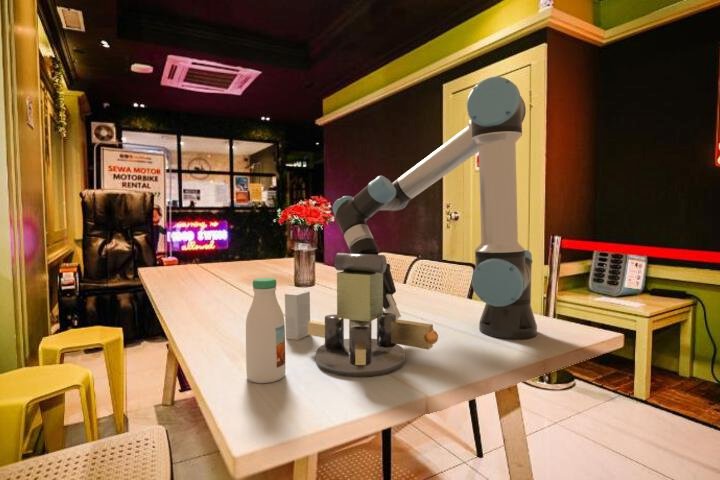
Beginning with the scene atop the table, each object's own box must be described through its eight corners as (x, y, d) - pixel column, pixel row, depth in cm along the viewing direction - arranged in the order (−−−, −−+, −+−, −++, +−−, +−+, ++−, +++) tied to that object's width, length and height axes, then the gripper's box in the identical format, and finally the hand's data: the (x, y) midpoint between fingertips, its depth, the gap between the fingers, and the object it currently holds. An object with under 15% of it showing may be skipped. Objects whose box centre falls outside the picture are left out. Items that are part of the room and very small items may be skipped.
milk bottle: (266, 387, 81) (264, 283, 79) (238, 379, 85) (236, 280, 83) (293, 374, 87) (292, 278, 86) (266, 367, 91) (264, 275, 90)
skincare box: (297, 332, 117) (297, 289, 117) (310, 334, 115) (310, 291, 115) (284, 338, 112) (284, 293, 111) (298, 340, 110) (297, 295, 109)
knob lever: (373, 345, 98) (373, 315, 98) (382, 340, 102) (382, 311, 101) (433, 356, 90) (434, 324, 90) (441, 351, 94) (441, 320, 94)
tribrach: (417, 353, 100) (417, 251, 99) (378, 389, 79) (378, 262, 78) (328, 339, 111) (328, 248, 109) (274, 369, 90) (272, 256, 88)
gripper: (369, 253, 126) (402, 324, 114) (336, 250, 117) (368, 327, 105) (385, 238, 121) (421, 310, 110) (352, 234, 112) (387, 312, 101)
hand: (395, 318), depth 108 cm, fingers closed
